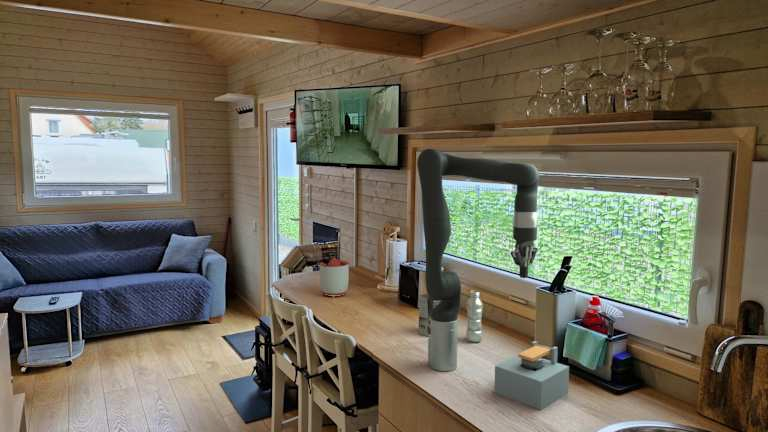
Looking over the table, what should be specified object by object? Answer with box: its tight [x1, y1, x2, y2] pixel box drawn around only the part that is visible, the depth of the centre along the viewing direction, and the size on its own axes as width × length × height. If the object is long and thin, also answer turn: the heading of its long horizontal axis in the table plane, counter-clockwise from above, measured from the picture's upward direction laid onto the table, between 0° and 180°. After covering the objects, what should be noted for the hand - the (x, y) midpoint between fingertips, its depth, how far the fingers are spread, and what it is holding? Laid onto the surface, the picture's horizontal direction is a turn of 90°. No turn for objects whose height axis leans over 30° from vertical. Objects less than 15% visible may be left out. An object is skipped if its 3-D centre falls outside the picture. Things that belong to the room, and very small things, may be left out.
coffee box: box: [418, 293, 441, 338], centre depth 218 cm, size 9×6×16 cm
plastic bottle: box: [465, 289, 484, 343], centre depth 208 cm, size 6×7×20 cm
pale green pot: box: [318, 257, 350, 295], centre depth 278 cm, size 16×17×20 cm
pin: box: [521, 356, 544, 371], centre depth 163 cm, size 6×6×11 cm
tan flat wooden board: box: [517, 344, 552, 362], centre depth 164 cm, size 5×12×2 cm, turn 133°
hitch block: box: [493, 340, 570, 411], centre depth 163 cm, size 16×16×14 cm
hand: (523, 277), depth 174 cm, fingers closed
